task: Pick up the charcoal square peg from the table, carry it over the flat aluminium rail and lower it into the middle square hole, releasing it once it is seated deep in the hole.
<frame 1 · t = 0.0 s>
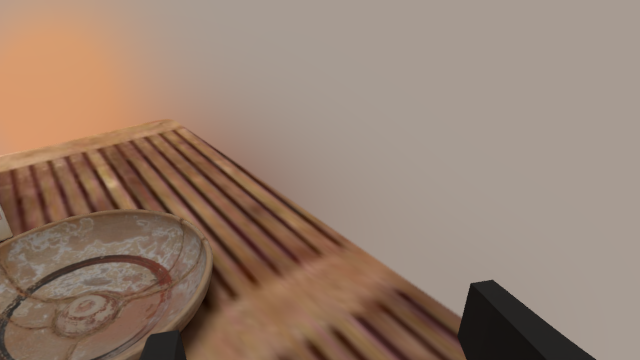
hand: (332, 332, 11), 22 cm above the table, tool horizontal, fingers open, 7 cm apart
ceramic bowl: (90, 319, 42), on the table
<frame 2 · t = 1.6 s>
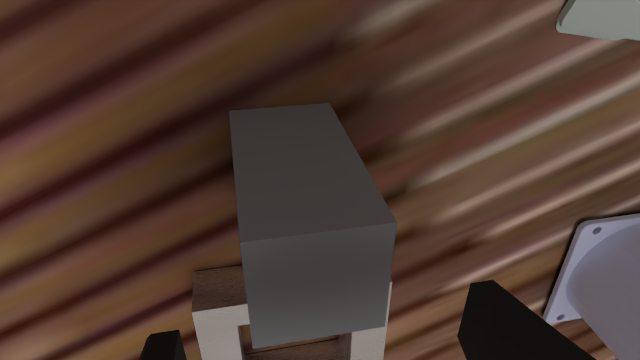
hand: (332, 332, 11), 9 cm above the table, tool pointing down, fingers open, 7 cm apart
square peg: (282, 150, 19), on the table
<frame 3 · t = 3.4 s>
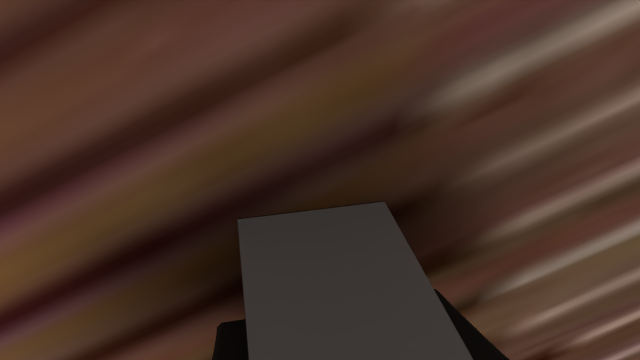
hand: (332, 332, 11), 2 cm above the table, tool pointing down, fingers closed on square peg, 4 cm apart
square peg: (313, 265, 13), on the table, touching gripper
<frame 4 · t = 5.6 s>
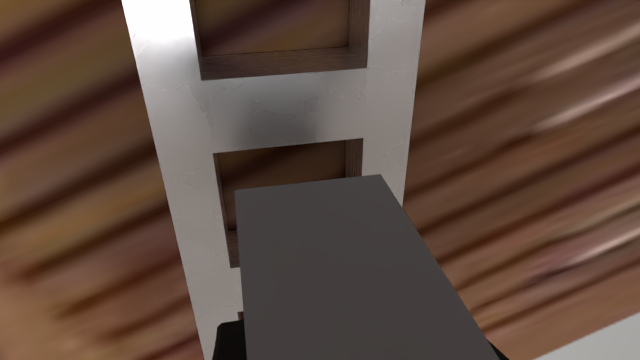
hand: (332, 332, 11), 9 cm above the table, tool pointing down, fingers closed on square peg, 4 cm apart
square peg: (310, 240, 13), point 7 cm above the table, touching gripper
hole rail: (284, 173, 20), on the table
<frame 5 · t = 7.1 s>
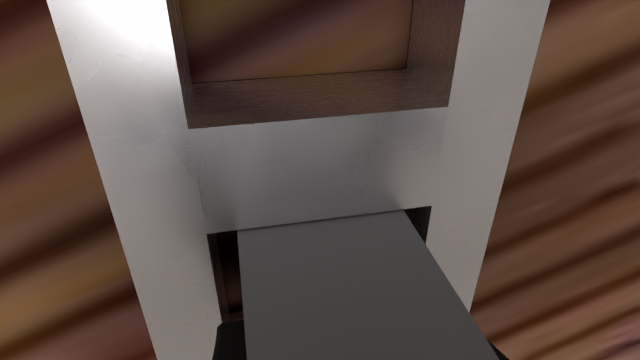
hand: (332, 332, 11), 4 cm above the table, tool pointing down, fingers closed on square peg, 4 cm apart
square peg: (310, 240, 13), point 1 cm above the table, touching gripper
hole rail: (307, 239, 14), on the table
when the fingers open (3 cm above the table, at t = 8.1 s): square peg stays where it is, resting in hole rail.
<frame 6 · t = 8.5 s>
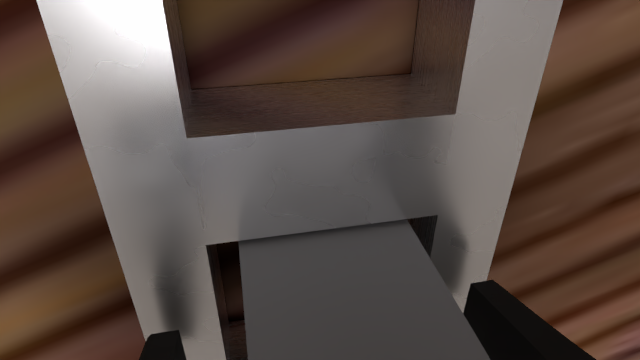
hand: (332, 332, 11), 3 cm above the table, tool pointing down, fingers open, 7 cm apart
square peg: (308, 232, 14), resting in hole rail
hole rail: (308, 248, 14), on the table
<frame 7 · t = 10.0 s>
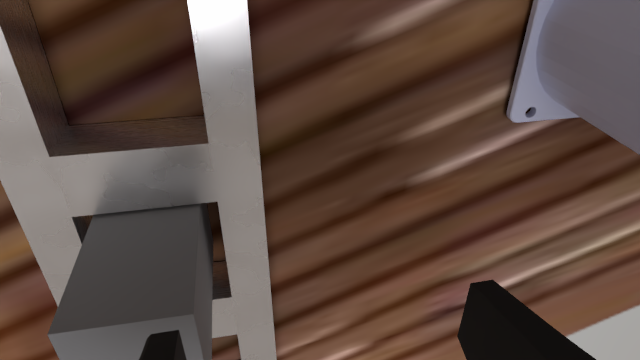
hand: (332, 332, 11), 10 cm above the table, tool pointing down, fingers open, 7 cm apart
square peg: (163, 214, 21), resting in hole rail
hole rail: (165, 224, 21), on the table
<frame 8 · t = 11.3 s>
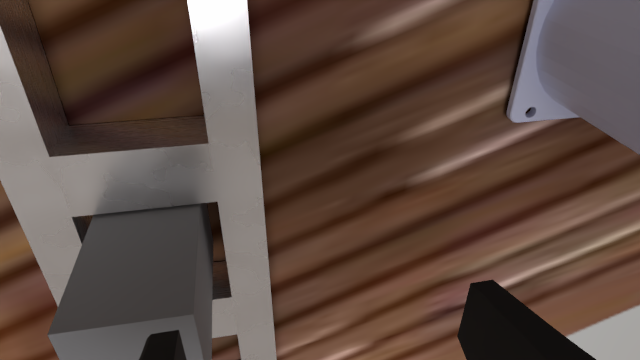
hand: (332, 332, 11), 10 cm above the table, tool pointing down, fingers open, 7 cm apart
square peg: (163, 214, 21), resting in hole rail
hole rail: (165, 224, 21), on the table
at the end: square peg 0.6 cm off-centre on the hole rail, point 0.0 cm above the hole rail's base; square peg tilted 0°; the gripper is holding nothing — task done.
